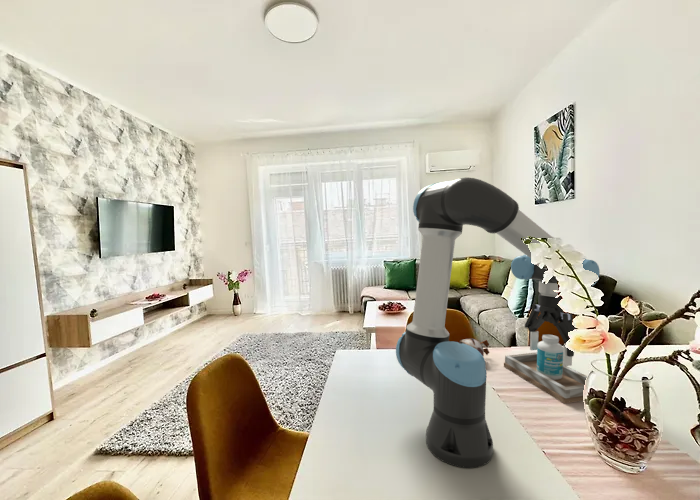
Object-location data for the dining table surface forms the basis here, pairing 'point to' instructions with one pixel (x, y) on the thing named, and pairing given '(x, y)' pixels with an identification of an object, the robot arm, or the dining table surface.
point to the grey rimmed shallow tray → (560, 389)
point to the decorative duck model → (476, 345)
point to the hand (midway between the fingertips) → (549, 357)
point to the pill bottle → (550, 357)
